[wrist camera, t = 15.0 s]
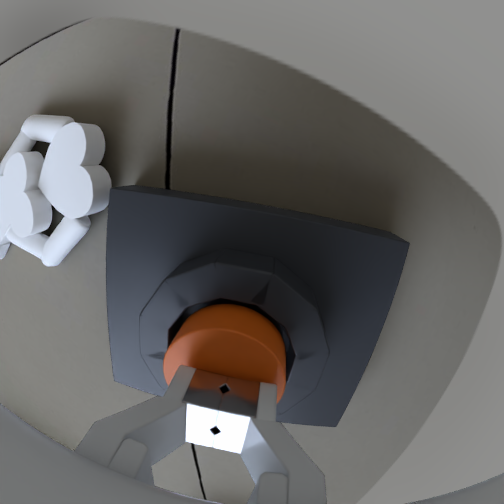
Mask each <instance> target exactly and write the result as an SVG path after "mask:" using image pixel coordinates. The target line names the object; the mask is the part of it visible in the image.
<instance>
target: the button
mask: <svg viewBox="0 0 504 504" xmlns="http://www.w3.org/2000/svg"><path fill="white" fill-rule="evenodd" d="M181 364H182V365H186V366H189V367H193V368H196V369H197V368H198V369H201V370H205V371H209V372H213V373H217V374H221V375H225V376H230V377H235V378H240V379H245V380H251V381H256V382H265V383H272V384H276V385H277V403H278V402H279V401H280V399H281V398H282V396H283V393H284V391H285V386H286V351H285V344H284V341H283V338H282V336H281V334H280V332H279V331H278V329H277V328H276V327H275V326H274V324H273V323H272V322H271V321H269V320H268V319H267V318H266V317H265V316H263V315H262V314H260V313H258V312H256V311H254V310H252V309H250V308H247V307H244V306H240V305H234V304H216V305H211V306H207V307H205V308H202V309H200V310H198V311H196V312H195V313H193V314H192V315H190V316H189V317H188V318H187V319H186V321H185V322H184V323H183V325H182V326H181V328H180V330H179V331H178V333H177V334H176V336H175V338H174V339H173V341H172V343H171V344H170V346H169V347H168V349H167V351H166V353H165V356H164V360H163V373H164V377H165V380H166V383H167V385H168V386H169V384H170V382H171V380H172V379H173V377H174V375H175V373H176V371H177V369H178V367H179V366H180V365H181Z"/></svg>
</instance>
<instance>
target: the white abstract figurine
mask: <svg viewBox="0 0 504 504" xmlns="http://www.w3.org/2000/svg"><path fill="white" fill-rule="evenodd" d="M36 141H43V142H48V143H51V144H50V146H49V148H48V151H47V154H46V157H45V160H44V158H43V156H42V154H41V153H40V152H36V151H34V152H30V151H31V149H32V148H33V146H34V145H35V143H36ZM104 152H105V139H104V135H103V132H102V130H101V129H100V127H98V126H97V125H94V124H85V123H75V122H74V120H73V119H72V118H71V117H68V116H55V115H37V114H35V115H31V116H29V117H28V118H27V119H26V120H25V122H24V124H23V125H22V127H21V132H20V133H19V135H18V136H17V138H16V139H15V141H14V142H13V144H12V145H11V147H10V148H9V150H8V152H7V153H6V155H5V156H4V158H3V160H2V161H1V163H0V259H2V258H4V257H5V255H6V253H7V250H8V248H9V246H10V244H11V242H12V243H13V244H15V245H17V246H19V247H20V248H22V249H24V250H26V251H28V252H29V253H31V254H33V255H35V256H37V257H39V258H40V259H42V262H43V264H44V265H46V266H57V265H58V264H60V263H61V261H62V260H63V259H64V258H65V257H66V255H67V254H68V253H69V252H70V251H71V250H72V248H73V247H74V246H75V245H76V244H77V243H78V242H79V240H80V239H81V238H82V237H83V236H84V235H85V234H86V233H87V232H88V230H89V228H90V226H91V221H90V219H89V217H88V216H87V215H91V214H94V213H98V212H100V211H102V210H104V209H105V208H106V207H107V206H108V204H109V193H110V188H112V186H111V179H110V176H109V173H108V172H107V171H106V169H105V168H104V167H102V166H101V165H99V164H100V162H101V160H102V158H103V155H104ZM51 204H52V205H53V206H54V207H55V209H56V210H57V211H59V212H60V213H61V214H63V215H64V216H65V217H64V218H63V219H62V221H61V222H60V223H59V225H58V226H57V227H56V229H55V230H54V231H53V233H52V234H51V236H50V237H49V236H47V235H45V234H43V233H41V232H42V231H45V230H46V229H48V228H49V226H50V224H51V221H52V206H51Z"/></svg>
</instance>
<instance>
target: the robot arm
mask: <svg viewBox="0 0 504 504" xmlns="http://www.w3.org/2000/svg"><path fill="white" fill-rule="evenodd" d="M276 404H277V385H276V384H272V383H265V382H256V381H251V380H245V379H240V378H235V377H230V376H225V375H221V374H217V373H213V372H209V371H205V370H201V369H198V368H197V369H196V368H193V367H189V366H186V365H182V364H181V365H180V366H179V367H178V369H177V371H176V373H175V375H174V377H173V379H172V380H171V382H170V384H169V386H168V388H167V390H166V392H165V394H164V396H163V397H161V396H156V397H154V398H152V399H150V400H147V401H145V402H143V403H140V404H138V405H136V406H133V407H131V408H129V409H126V410H124V411H121V412H119V413H117V414H114V415H112V416H109V417H106V418H104V419H101V420H99V421H96V422H95V423H94V424H93V425H92V427H91V428H90V430H89V431H88V432H87V434H86V435H85V437H84V438H83V440H82V441H81V443H80V444H79V445H78V447H77V448H76V450H75V451H72V450H70V449H68V448H67V447H65V446H63V445H61V444H60V443H58V442H56V441H54V440H53V439H51V438H49V437H48V436H46V435H45V434H43V433H41V432H40V431H38V430H37V429H35V428H34V427H32V426H31V425H29V424H28V423H26V422H25V421H23V420H22V419H21V418H19V417H18V416H16V415H15V414H14V413H12V412H11V411H10V410H8V409H7V408H6V407H5V406H3V405H2V404H1V403H0V504H223V503H218V502H213V501H208V500H204V499H199V498H195V497H191V496H187V495H183V494H179V493H176V492H172V491H169V490H166V489H162V488H159V487H156V486H155V485H154V479H153V474H152V468H151V466H152V465H154V464H155V463H157V462H158V461H160V460H161V459H163V458H164V457H166V456H167V455H168V454H170V453H171V452H173V451H174V450H176V449H177V448H178V447H180V446H181V445H183V444H184V443H185V441H186V442H190V443H194V444H199V445H203V446H208V447H213V448H217V449H222V450H226V451H231V452H235V453H240V455H241V457H242V459H243V461H244V463H245V465H246V467H247V469H248V471H249V473H250V475H251V477H252V479H253V480H254V482H255V484H256V485H255V488H254V490H253V492H252V494H251V496H250V498H249V500H248V502H247V504H327V501H326V487H325V475H324V474H323V473H322V472H321V470H320V469H319V468H318V467H317V466H316V465H315V463H314V462H313V461H312V460H311V459H310V458H309V456H308V455H307V454H306V453H305V452H304V450H303V449H302V448H301V447H300V446H299V444H298V443H297V442H296V441H295V440H294V438H293V437H292V436H291V435H290V433H289V432H288V431H287V430H286V428H285V427H284V426H283V425H282V423H281V422H276ZM406 504H504V473H502V474H500V475H498V476H495V477H493V478H491V479H488V480H486V481H483V482H481V483H478V484H475V485H473V486H470V487H467V488H464V489H461V490H458V491H454V492H452V493H448V494H445V495H441V496H437V497H433V498H429V499H425V500H421V501H416V502H411V503H406Z"/></svg>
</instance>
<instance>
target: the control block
mask: <svg viewBox="0 0 504 504" xmlns="http://www.w3.org/2000/svg"><path fill="white" fill-rule="evenodd" d="M409 245H410V243H409V242H407V241H405V240H404V239H402V238H400V237H398V236H397V235H395V234H393V233H391V232H388V231H384V230H380V229H376V228H372V227H367V226H363V225H359V224H354V223H350V222H345V221H341V220H336V219H331V218H327V217H322V216H317V215H312V214H307V213H302V212H297V211H292V210H287V209H282V208H277V207H272V206H266V205H261V204H255V203H250V202H244V201H238V200H232V199H226V198H220V197H214V196H208V195H202V194H195V193H189V192H182V191H175V190H168V189H161V188H154V187H146V186H138V185H130V186H121V187H113V188H110V193H109V205H108V220H107V242H106V292H107V315H108V329H109V341H110V351H111V360H112V368H113V376H114V381H116V382H119V383H121V384H124V385H127V386H130V387H132V388H135V389H138V390H141V391H144V392H147V393H151V394H154V395H157V396H161V397H163V396H164V394H165V392H166V390H167V388H168V385H167V383H166V380H165V377H164V373H163V360H164V356H165V353H166V351H167V349H168V347H169V346H170V344H171V343H172V341H173V339H174V338H175V336H176V334H177V333H178V331H179V330H180V328H181V326H182V325H183V323H184V322H185V321H186V319H187V318H188V317H189V316H190V315H192V314H193V313H195V312H196V311H198V310H200V309H202V308H205V307H207V306H211V305H216V304H234V305H240V306H244V307H247V308H250V309H252V310H254V311H256V312H258V313H260V314H262V315H263V316H265V317H266V318H267V319H268V320H269V321H271V322H272V323H273V324H274V326H275V327H276V328H277V329H278V331H279V332H280V334H281V336H282V338H283V341H284V344H285V351H286V386H285V391H284V393H283V396H282V398H281V399H280V401H279V402H278V403H277V404H276V422H283V423H292V424H302V425H313V426H327V427H336V426H337V424H338V422H339V421H340V419H341V417H342V415H343V413H344V411H345V409H346V407H347V406H348V404H349V402H350V400H351V398H352V396H353V394H354V392H355V390H356V388H357V386H358V383H359V381H360V379H361V377H362V375H363V373H364V371H365V368H366V366H367V364H368V362H369V359H370V357H371V355H372V352H373V350H374V348H375V345H376V343H377V340H378V338H379V335H380V333H381V330H382V328H383V325H384V323H385V320H386V317H387V315H388V312H389V309H390V306H391V303H392V300H393V298H394V295H395V292H396V289H397V286H398V282H399V279H400V276H401V273H402V270H403V266H404V263H405V259H406V256H407V252H408V249H409Z"/></svg>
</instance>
